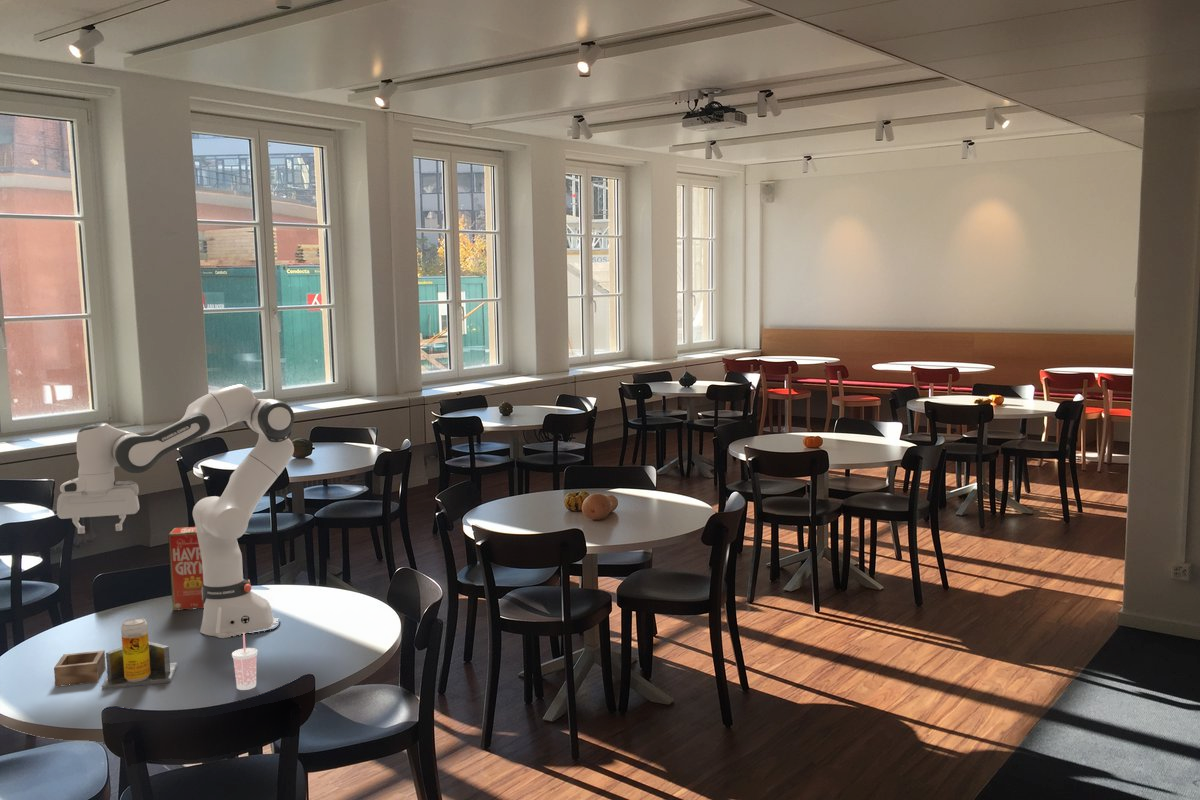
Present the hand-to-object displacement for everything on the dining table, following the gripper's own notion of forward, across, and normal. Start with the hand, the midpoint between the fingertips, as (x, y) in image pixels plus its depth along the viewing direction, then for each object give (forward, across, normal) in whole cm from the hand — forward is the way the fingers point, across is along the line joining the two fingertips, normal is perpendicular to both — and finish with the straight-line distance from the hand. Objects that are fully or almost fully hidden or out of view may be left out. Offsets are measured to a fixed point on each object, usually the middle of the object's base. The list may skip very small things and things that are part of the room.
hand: (100, 531), depth 270 cm
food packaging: (+34, -19, -37) cm, 54 cm away
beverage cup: (+34, -39, +39) cm, 65 cm away
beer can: (+33, -12, +27) cm, 44 cm away
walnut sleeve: (+34, +3, +19) cm, 39 cm away
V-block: (+34, -12, +24) cm, 43 cm away
